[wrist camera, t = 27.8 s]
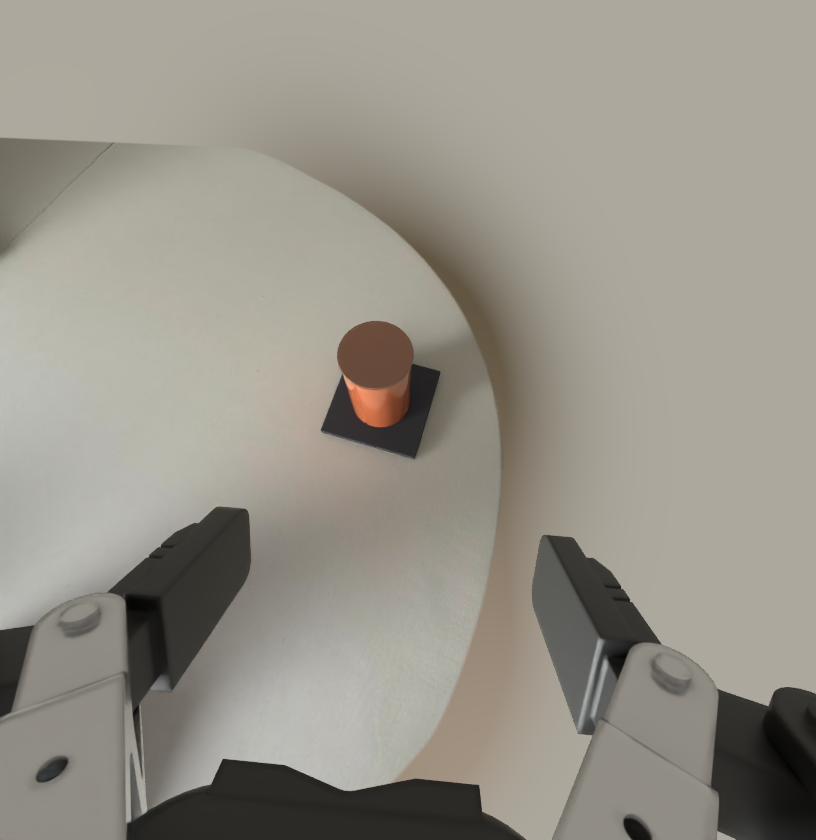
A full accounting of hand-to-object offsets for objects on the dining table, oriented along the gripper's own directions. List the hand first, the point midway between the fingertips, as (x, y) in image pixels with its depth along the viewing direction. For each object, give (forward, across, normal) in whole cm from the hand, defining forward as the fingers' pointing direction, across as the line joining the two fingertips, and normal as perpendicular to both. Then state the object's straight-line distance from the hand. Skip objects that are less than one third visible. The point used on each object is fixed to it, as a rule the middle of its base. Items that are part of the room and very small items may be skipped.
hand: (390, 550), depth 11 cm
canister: (+31, +4, +3) cm, 32 cm away
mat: (+32, +4, +3) cm, 32 cm away
